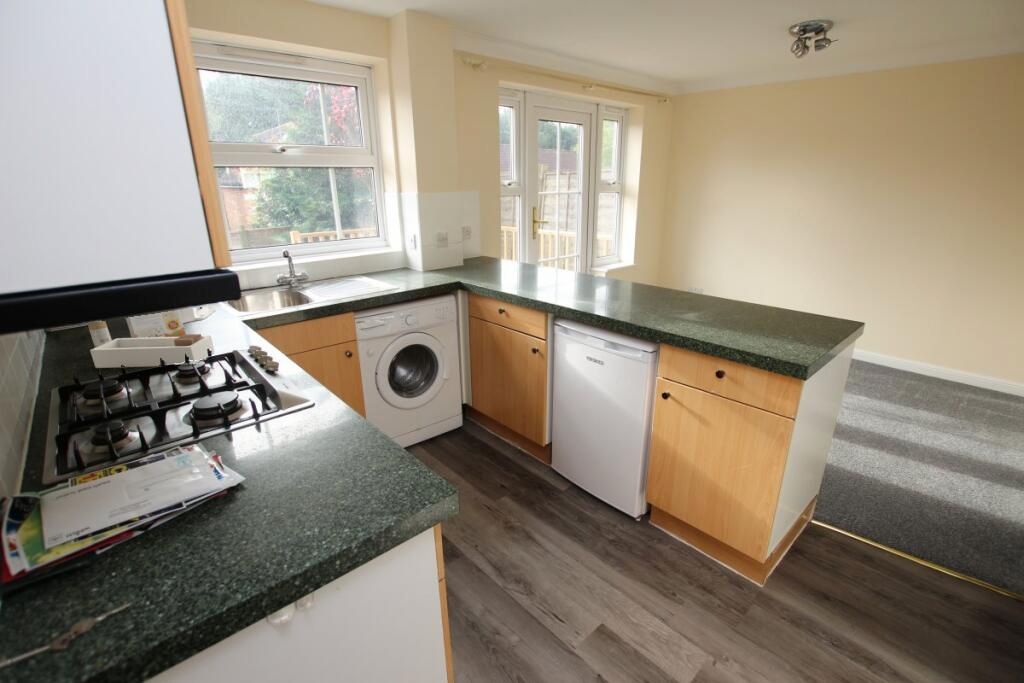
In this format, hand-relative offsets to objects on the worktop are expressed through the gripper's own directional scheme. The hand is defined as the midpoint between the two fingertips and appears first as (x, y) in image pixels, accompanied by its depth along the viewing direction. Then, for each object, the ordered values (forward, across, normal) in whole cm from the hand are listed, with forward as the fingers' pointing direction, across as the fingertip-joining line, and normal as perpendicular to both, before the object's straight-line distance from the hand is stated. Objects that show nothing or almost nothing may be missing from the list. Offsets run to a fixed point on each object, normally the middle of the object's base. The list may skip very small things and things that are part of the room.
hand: (150, 297), depth 135 cm
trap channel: (+19, -2, 0) cm, 19 cm away
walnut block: (+16, +8, 0) cm, 18 cm away
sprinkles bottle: (+20, -22, +6) cm, 31 cm away
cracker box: (+20, -14, +20) cm, 31 cm away
